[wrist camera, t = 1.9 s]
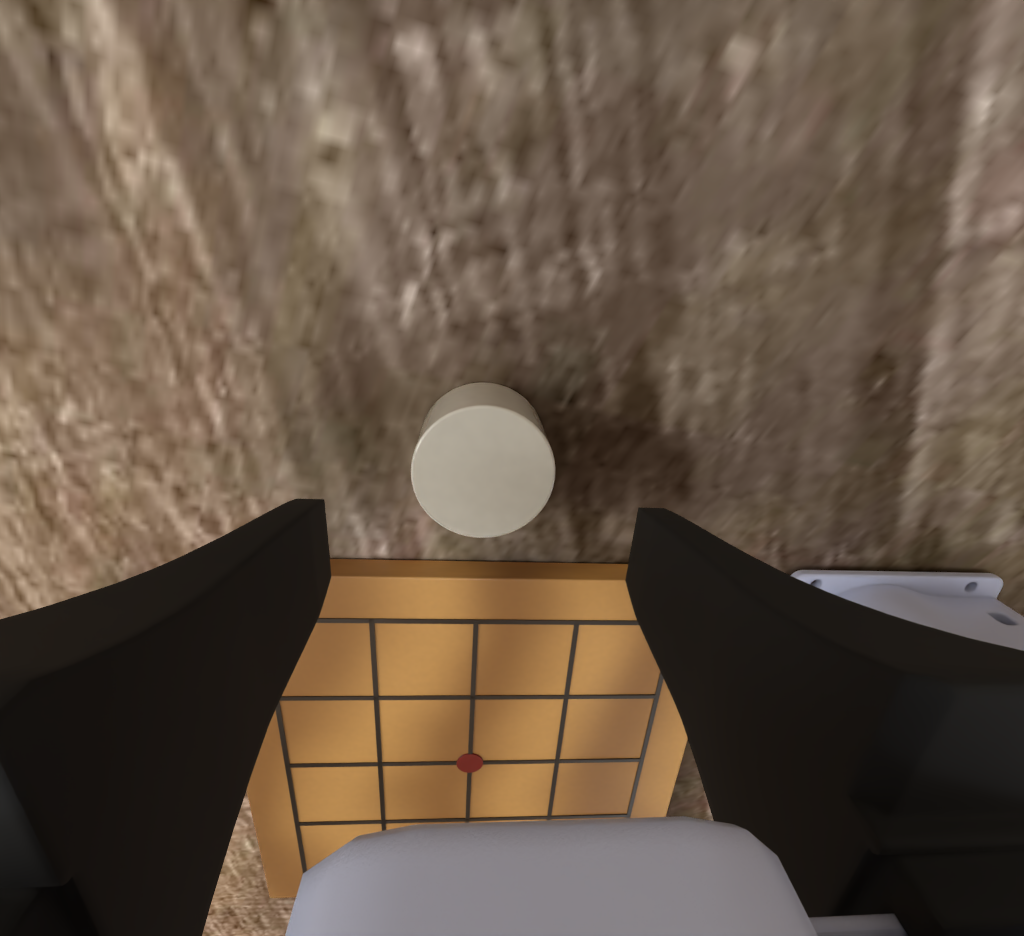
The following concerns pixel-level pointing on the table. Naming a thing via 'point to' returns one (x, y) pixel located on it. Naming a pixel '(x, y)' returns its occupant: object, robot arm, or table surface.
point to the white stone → (482, 461)
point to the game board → (462, 708)
